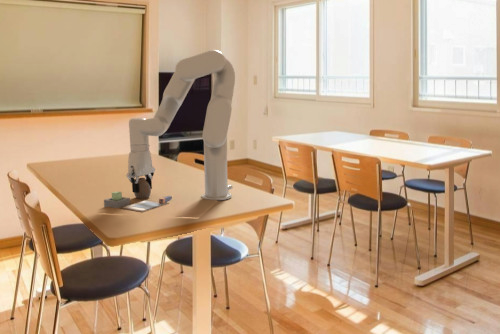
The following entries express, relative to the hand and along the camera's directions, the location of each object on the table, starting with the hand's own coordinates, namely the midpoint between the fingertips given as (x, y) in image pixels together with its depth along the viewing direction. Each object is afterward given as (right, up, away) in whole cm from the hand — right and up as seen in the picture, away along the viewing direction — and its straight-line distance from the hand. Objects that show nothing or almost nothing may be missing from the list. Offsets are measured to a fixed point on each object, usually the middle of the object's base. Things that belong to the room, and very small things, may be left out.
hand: (142, 190), depth 208 cm
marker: (+11, -4, -6) cm, 13 cm away
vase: (0, -4, +1) cm, 4 cm away
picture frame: (+4, -6, -13) cm, 15 cm away
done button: (-7, -4, -11) cm, 14 cm away
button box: (-7, -6, -11) cm, 15 cm away
